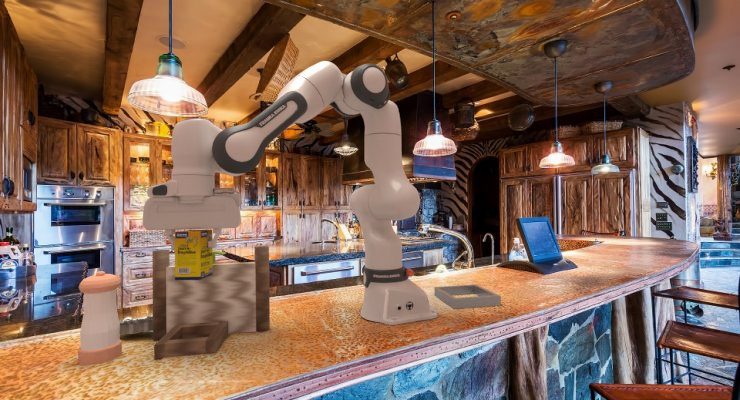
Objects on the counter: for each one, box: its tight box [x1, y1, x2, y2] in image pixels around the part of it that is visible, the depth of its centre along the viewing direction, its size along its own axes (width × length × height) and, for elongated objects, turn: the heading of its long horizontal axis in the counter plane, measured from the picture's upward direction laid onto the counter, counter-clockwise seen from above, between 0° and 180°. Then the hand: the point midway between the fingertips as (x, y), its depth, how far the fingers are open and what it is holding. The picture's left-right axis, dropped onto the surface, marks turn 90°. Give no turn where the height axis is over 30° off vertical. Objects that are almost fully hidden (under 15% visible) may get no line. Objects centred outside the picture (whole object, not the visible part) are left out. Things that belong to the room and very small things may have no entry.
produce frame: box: [433, 284, 502, 310], centre depth 113 cm, size 16×16×3 cm
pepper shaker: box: [77, 270, 123, 366], centre depth 72 cm, size 7×7×19 cm
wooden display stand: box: [151, 245, 271, 361], centre depth 80 cm, size 28×16×22 cm, turn 101°
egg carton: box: [119, 315, 153, 336], centre depth 86 cm, size 11×8×4 cm
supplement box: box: [174, 229, 213, 280], centre depth 78 cm, size 6×6×11 cm
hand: (194, 249), depth 78 cm, fingers closed on supplement box, 6 cm apart
